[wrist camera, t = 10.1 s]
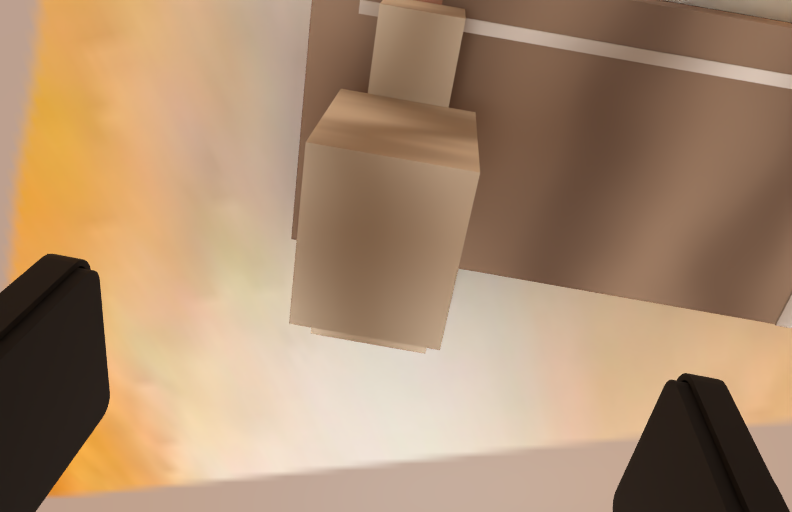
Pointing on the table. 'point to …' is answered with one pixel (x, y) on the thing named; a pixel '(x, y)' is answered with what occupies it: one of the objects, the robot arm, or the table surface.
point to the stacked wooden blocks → (389, 190)
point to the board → (610, 144)
